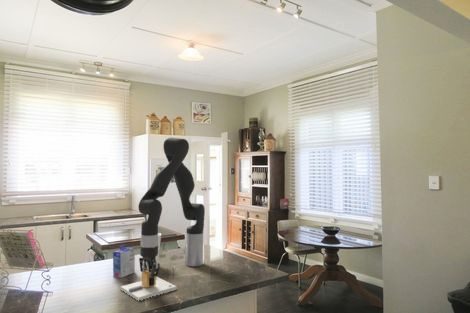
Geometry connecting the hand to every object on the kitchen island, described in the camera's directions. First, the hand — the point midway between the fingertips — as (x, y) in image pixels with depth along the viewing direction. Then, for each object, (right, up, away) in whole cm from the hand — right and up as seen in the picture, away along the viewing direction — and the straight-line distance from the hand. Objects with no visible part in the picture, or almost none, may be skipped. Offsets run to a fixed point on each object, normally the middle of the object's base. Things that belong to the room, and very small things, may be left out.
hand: (148, 283), depth 142 cm
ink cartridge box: (-17, -3, +19) cm, 26 cm away
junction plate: (0, -3, 0) cm, 3 cm away
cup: (-7, -4, +32) cm, 33 cm away
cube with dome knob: (0, 0, 0) cm, 0 cm away
